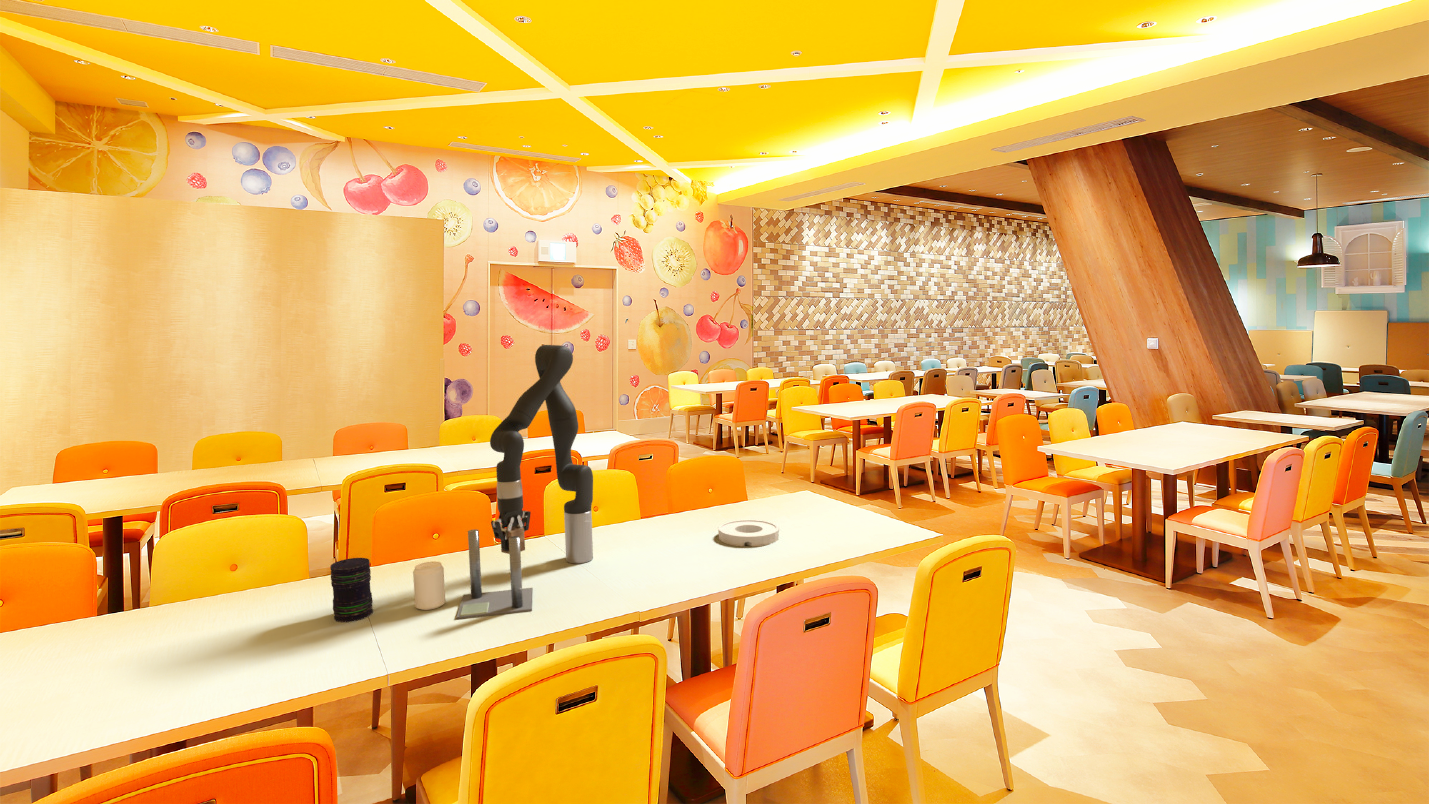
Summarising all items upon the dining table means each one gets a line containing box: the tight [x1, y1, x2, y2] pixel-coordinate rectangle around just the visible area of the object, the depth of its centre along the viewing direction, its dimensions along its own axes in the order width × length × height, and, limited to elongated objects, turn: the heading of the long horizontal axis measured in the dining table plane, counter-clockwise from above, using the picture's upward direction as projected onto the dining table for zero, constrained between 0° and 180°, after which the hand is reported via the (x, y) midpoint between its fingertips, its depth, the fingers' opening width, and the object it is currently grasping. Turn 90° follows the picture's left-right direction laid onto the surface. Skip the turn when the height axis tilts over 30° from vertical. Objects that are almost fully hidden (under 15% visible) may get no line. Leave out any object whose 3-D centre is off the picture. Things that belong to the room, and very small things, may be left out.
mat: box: [456, 587, 534, 620], centre depth 197 cm, size 17×20×1 cm
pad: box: [461, 603, 488, 614], centre depth 191 cm, size 7×7×1 cm
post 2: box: [508, 536, 523, 608], centre depth 192 cm, size 3×3×20 cm
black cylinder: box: [329, 557, 374, 623], centre depth 189 cm, size 10×10×15 cm
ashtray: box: [717, 519, 780, 547], centre depth 258 cm, size 23×23×4 cm
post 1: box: [467, 529, 483, 599], centre depth 199 cm, size 3×3×20 cm
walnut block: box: [500, 527, 526, 555], centre depth 209 cm, size 5×5×7 cm
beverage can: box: [412, 560, 446, 611], centre depth 195 cm, size 8×8×12 cm
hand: (513, 548), depth 209 cm, fingers closed on walnut block, 5 cm apart
